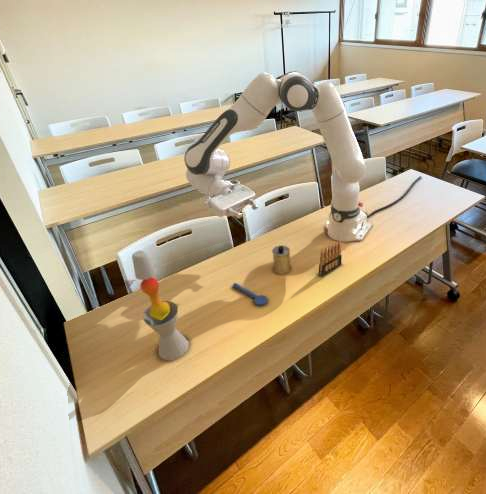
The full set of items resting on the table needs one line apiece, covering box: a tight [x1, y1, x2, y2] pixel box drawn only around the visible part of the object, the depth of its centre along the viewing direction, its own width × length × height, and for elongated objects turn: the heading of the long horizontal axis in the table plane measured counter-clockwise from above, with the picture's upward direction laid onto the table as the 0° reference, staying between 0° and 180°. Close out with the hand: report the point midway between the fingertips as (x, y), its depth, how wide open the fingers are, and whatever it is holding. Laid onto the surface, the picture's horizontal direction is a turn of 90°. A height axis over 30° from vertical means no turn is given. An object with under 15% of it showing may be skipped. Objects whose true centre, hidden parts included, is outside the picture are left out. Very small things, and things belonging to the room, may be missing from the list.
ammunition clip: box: [318, 239, 343, 277], centre depth 126 cm, size 11×2×12 cm, turn 131°
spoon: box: [232, 282, 268, 307], centre depth 118 cm, size 16×4×1 cm, turn 52°
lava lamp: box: [131, 250, 190, 361], centre depth 90 cm, size 9×9×35 cm
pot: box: [271, 244, 291, 275], centre depth 127 cm, size 7×7×10 cm
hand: (248, 212), depth 124 cm, fingers open, 8 cm apart
